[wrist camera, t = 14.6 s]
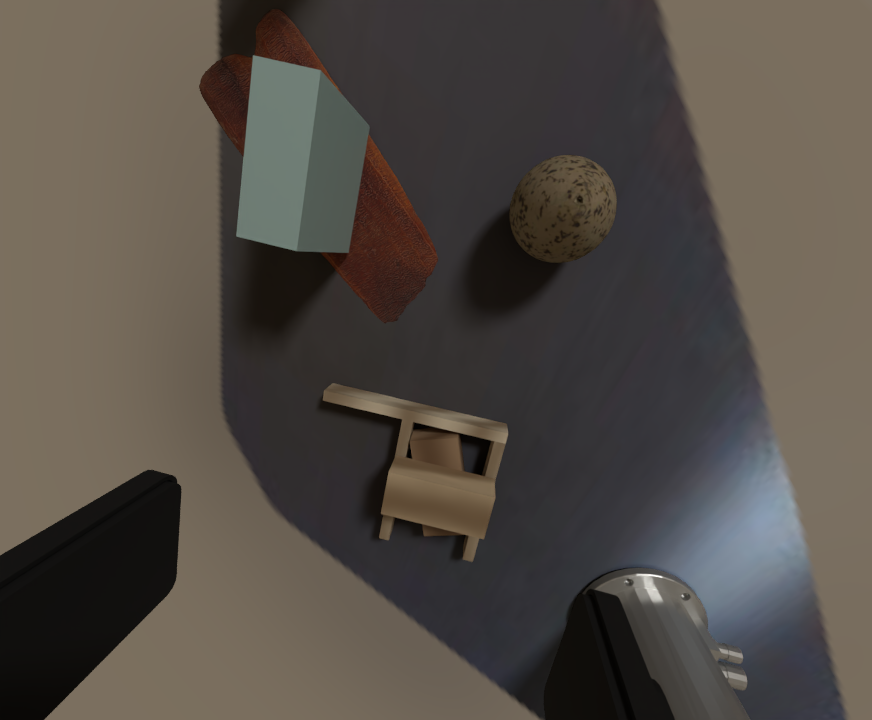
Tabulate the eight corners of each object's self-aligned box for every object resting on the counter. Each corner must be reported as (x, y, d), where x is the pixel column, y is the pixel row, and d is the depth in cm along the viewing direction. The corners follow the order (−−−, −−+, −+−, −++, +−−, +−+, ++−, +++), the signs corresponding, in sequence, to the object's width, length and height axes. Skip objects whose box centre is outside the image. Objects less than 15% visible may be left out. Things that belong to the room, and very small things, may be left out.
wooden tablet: (198, 91, 34) (184, 83, 33) (283, 4, 32) (273, -9, 30) (382, 344, 38) (378, 348, 37) (470, 283, 36) (469, 284, 34)
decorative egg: (581, 154, 32) (625, 110, 22) (606, 243, 33) (657, 238, 23) (494, 191, 33) (499, 163, 23) (521, 274, 34) (537, 281, 25)
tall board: (369, 126, 32) (320, 70, 22) (348, 252, 35) (296, 251, 25) (321, 115, 32) (253, 55, 23) (304, 242, 35) (236, 236, 25)
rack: (506, 423, 38) (508, 433, 36) (473, 546, 41) (472, 561, 39) (332, 383, 39) (324, 390, 37) (315, 506, 42) (306, 519, 40)
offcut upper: (395, 455, 37) (388, 471, 34) (494, 478, 36) (495, 497, 34) (388, 494, 38) (380, 513, 35) (483, 517, 38) (483, 539, 35)
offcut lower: (459, 424, 39) (457, 437, 36) (470, 514, 41) (469, 534, 38) (414, 427, 39) (409, 441, 36) (427, 516, 42) (424, 536, 39)
